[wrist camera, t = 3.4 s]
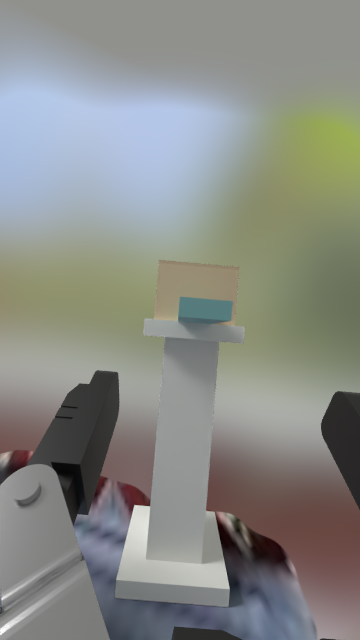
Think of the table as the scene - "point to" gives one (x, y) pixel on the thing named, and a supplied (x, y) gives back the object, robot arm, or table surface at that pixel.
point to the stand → (180, 478)
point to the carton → (196, 293)
